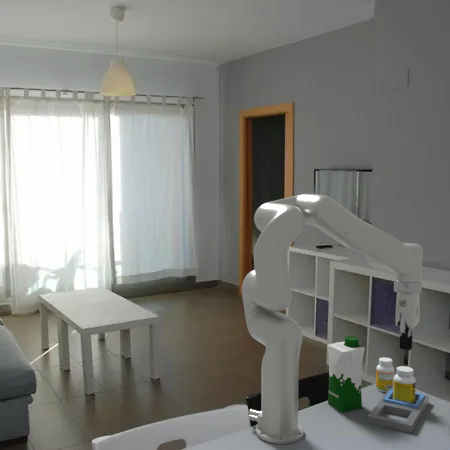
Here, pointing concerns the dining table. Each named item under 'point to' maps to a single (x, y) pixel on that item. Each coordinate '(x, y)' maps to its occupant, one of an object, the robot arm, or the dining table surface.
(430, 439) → the dining table surface
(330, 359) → the milk carton
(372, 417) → the organizer board
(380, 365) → the supplement bottle
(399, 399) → the pill bottle
